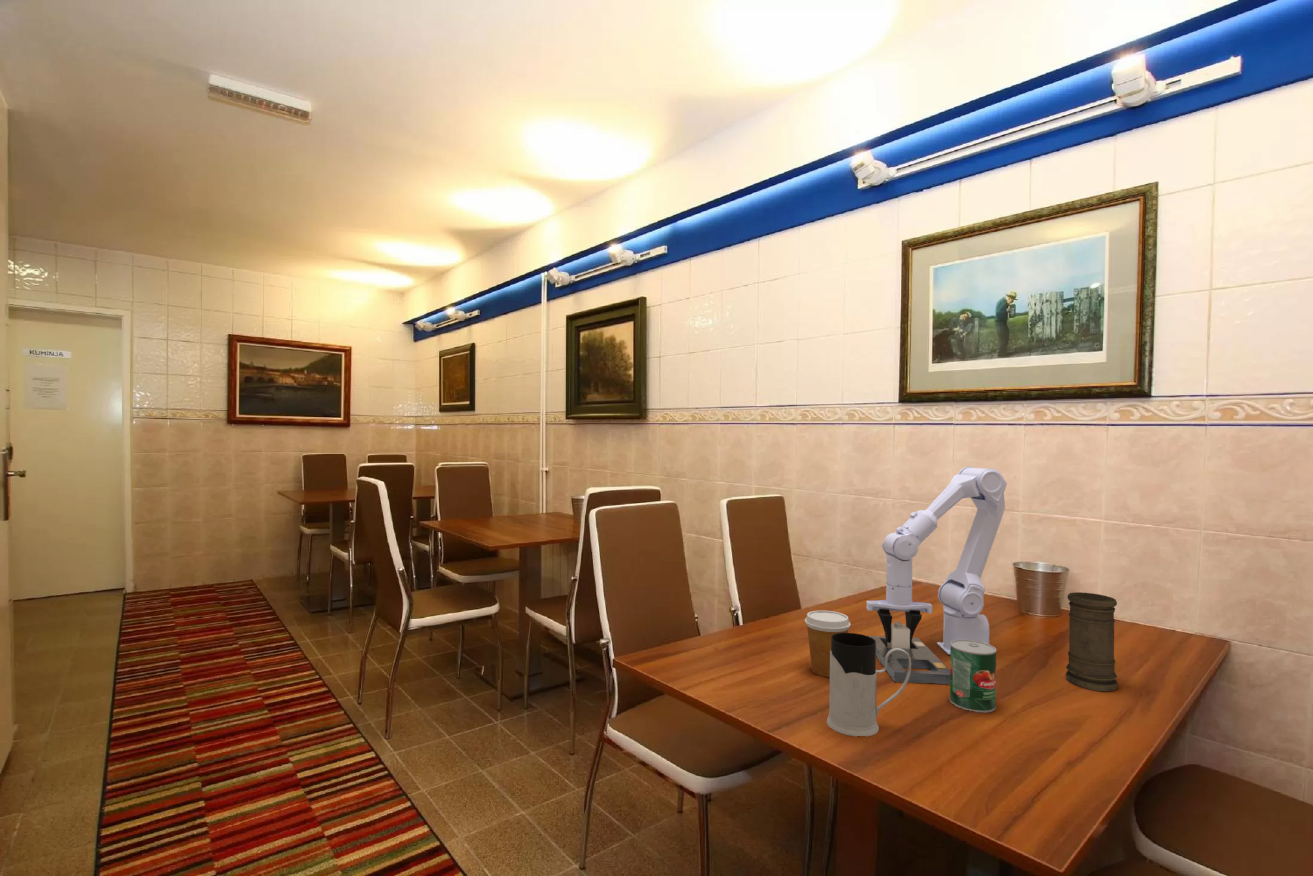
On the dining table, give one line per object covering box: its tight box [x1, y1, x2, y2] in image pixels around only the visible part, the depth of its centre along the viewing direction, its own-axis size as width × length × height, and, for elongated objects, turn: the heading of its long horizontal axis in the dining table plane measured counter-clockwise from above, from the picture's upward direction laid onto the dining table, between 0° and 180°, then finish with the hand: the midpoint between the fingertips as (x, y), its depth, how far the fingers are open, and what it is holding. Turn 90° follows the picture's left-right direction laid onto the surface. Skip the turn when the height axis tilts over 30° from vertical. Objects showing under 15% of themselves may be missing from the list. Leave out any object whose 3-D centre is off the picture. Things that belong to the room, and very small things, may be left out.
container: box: [1065, 591, 1119, 692], centre depth 129 cm, size 9×9×18 cm
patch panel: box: [868, 635, 950, 685], centre depth 140 cm, size 12×24×2 cm, turn 174°
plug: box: [887, 621, 910, 649], centre depth 147 cm, size 4×4×7 cm
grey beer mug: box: [826, 632, 912, 737], centre depth 109 cm, size 9×14×15 cm, turn 84°
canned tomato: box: [949, 640, 997, 714], centre depth 118 cm, size 8×8×11 cm
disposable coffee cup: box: [804, 610, 851, 678], centre depth 134 cm, size 10×10×12 cm
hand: (898, 641), depth 147 cm, fingers closed on plug, 4 cm apart
